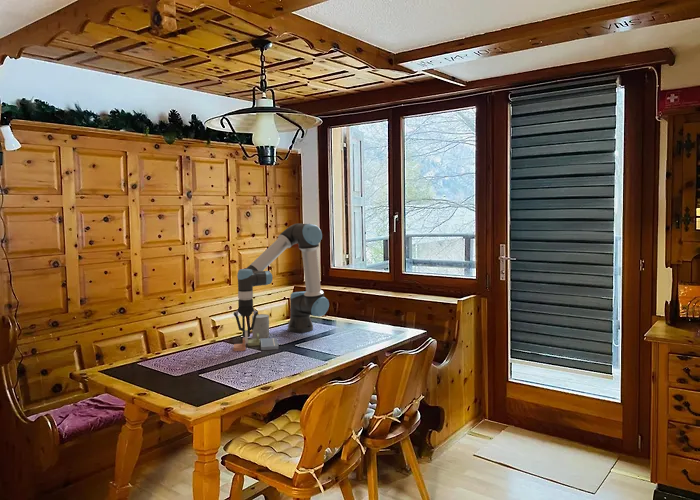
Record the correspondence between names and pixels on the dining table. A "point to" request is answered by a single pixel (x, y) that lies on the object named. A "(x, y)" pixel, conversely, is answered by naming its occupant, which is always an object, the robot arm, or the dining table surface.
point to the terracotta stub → (240, 346)
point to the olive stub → (254, 341)
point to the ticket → (269, 343)
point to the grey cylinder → (261, 326)
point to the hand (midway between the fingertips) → (246, 343)
